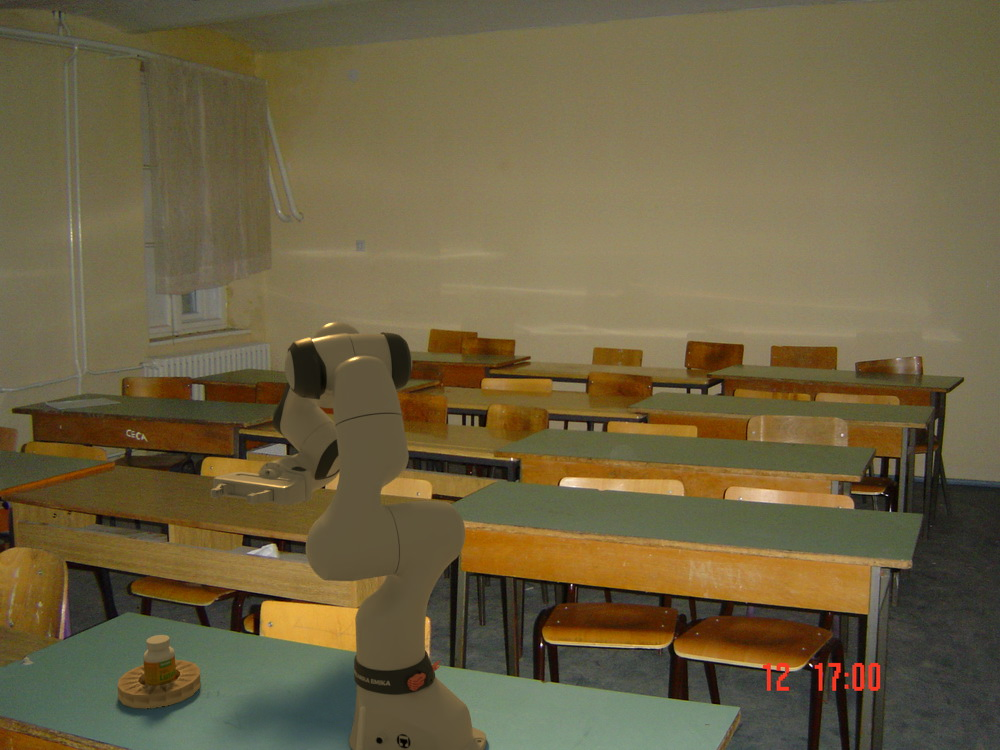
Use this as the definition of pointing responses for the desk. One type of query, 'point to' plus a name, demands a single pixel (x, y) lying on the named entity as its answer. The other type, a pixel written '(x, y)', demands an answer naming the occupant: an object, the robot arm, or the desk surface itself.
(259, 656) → the desk surface
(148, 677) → the supplement bottle
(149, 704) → the plain brown donut
